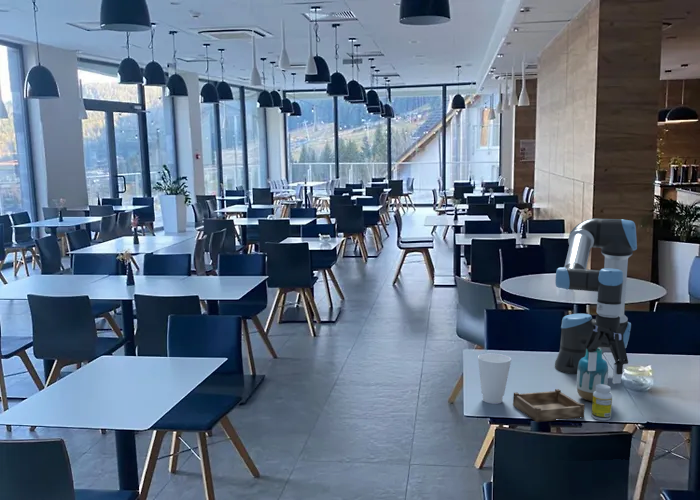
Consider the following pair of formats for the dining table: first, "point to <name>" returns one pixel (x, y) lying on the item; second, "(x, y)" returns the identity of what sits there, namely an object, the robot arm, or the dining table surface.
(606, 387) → the pill bottle
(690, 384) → the dining table surface
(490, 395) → the cup
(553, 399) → the crate
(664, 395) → the dining table surface
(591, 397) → the vase
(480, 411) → the dining table surface
